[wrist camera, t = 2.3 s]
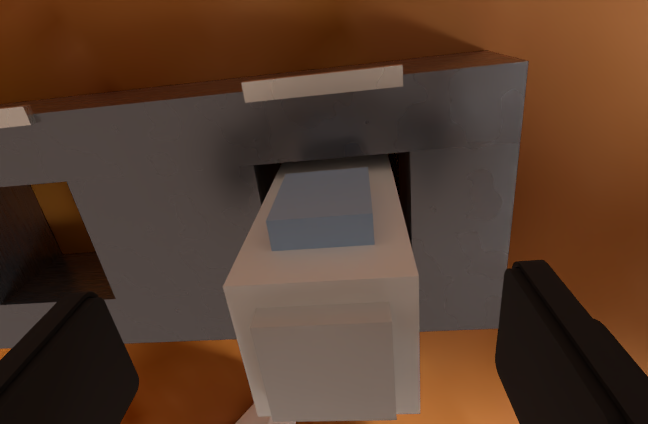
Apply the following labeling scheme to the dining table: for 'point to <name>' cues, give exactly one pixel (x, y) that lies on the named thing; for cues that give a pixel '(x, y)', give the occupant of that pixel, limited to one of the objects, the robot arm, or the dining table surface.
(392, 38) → the dining table surface
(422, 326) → the jack panel
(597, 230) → the dining table surface
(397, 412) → the plug
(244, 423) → the cable organizer
